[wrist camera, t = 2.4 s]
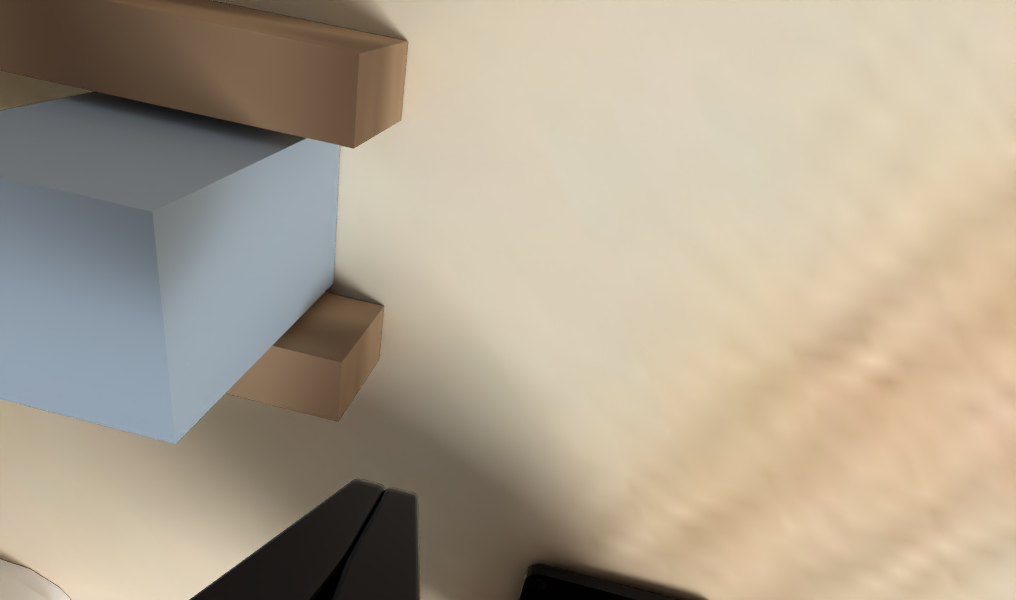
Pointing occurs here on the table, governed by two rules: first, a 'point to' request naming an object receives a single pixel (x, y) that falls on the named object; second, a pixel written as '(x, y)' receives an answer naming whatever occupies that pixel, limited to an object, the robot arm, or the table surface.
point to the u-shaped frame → (242, 99)
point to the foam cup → (26, 584)
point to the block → (152, 256)
